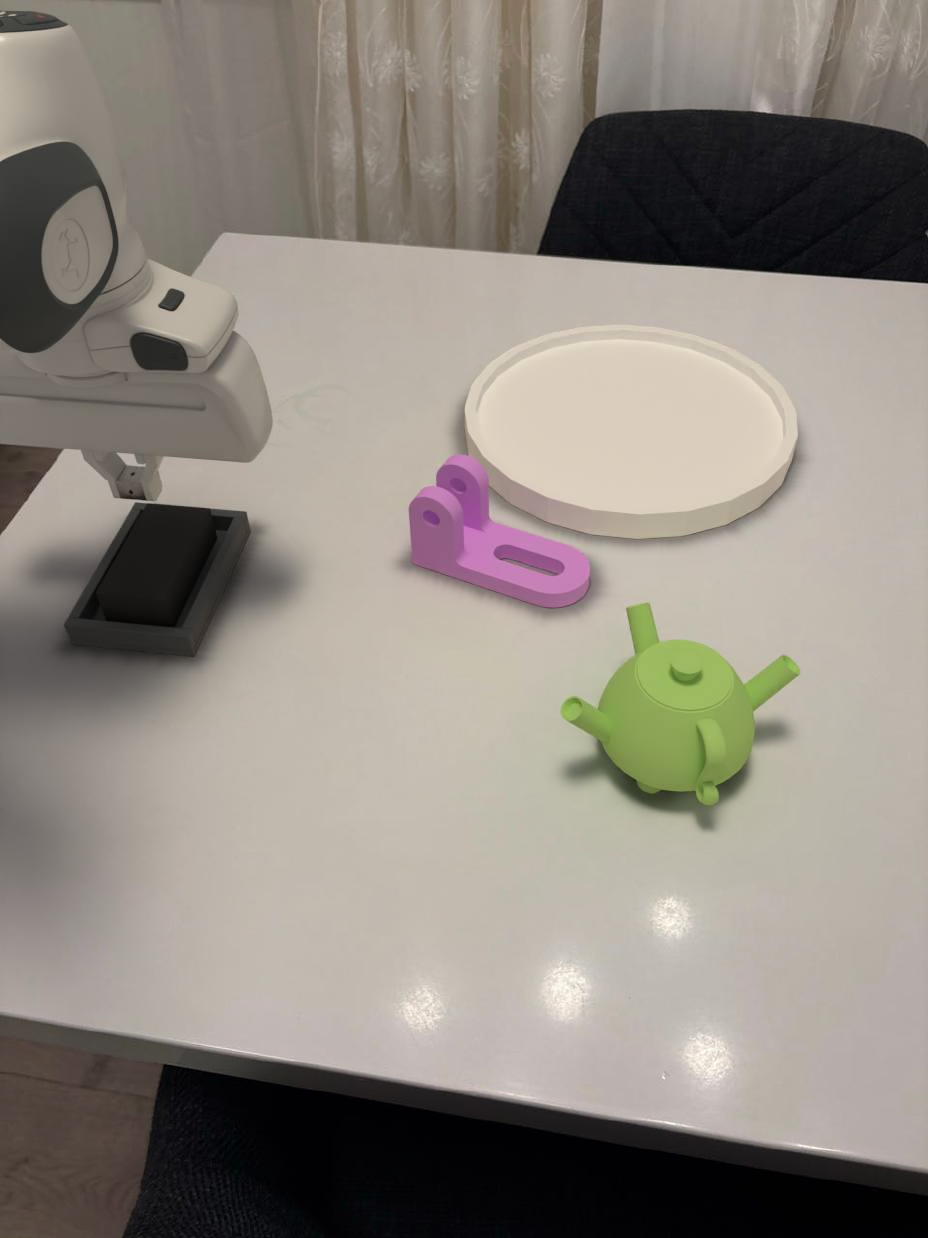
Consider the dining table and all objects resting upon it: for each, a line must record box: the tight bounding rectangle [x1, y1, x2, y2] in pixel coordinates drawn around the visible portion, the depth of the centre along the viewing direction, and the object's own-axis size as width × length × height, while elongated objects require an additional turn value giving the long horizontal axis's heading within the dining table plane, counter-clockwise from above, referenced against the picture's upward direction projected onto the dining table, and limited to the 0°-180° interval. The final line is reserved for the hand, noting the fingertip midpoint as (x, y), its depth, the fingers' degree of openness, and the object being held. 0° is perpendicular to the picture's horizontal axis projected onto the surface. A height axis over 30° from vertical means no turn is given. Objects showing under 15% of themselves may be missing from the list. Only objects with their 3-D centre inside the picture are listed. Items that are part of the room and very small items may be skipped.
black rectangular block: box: [96, 502, 217, 628], centre depth 77 cm, size 10×5×3 cm, turn 171°
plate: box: [463, 324, 799, 540], centre depth 89 cm, size 28×28×2 cm
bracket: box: [408, 453, 591, 609], centre depth 76 cm, size 13×6×7 cm, turn 63°
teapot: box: [560, 602, 801, 806], centre depth 63 cm, size 11×12×8 cm
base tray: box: [63, 501, 252, 658], centre depth 77 cm, size 14×9×2 cm
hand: (139, 494), depth 72 cm, fingers closed
